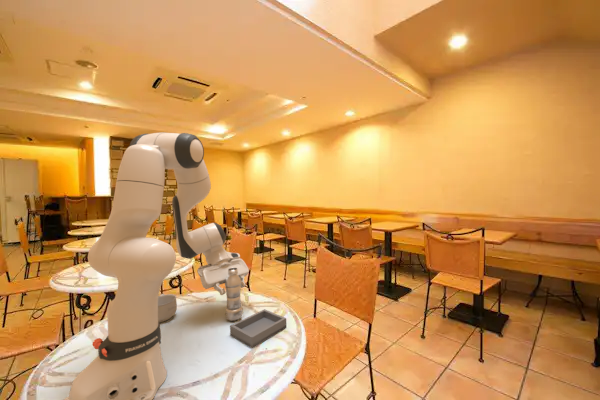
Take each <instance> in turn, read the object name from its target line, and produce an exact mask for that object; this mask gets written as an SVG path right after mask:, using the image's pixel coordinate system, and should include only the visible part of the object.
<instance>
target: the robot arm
mask: <svg viewBox="0 0 600 400" xmlns="http://www.w3.org/2000/svg"><path fill="white" fill-rule="evenodd" d="M204 155H205V148H204V146H203V142H202V141H201V140H200V139H199V138H198V137H197V136H196V135H195V134H193V133H187V132H181V133H177V132H164V131H163V132H153V133H142V134H139V135H137V136H135V137H133V139H132V140H131V141H130V143H129V146H128V147H127V148H126V149H125V151H124V153H123V155H122V157H121V161H120V164H119V167H118V171H117V175H116V176H117V177H116V182H115V187H114V188H115V189H114V194H113V200H112V205H111V206H112V207H111V211H110V214H109V217H108V220H107V222H106V224H105V227H104V229H103V231H102V233H101V235H100V236H99V238H98V240H97V241H95V242H94V244H93V245H91V247H90V248H89V251H88V252H87V261H88V264H89V266H90V268H92V269H93V270H95V271H96V272H98V273H99V274H100V275H103V276H104V277H110V278H116V279H117V282H118V283H117V284H118V285H117V289H116V293H115V296H114V298H113V299H112V300H111V301H110V302H109V304H108V305H107V308H106V314H107V316H106V317H107V336H106V338H105V339H104V340H103V339H102V338H100V337H99V338H95V339H94V340H93V341H92V344H91V345H92V346H93V348H94V349H95V350H98V354H97V356H96V357H95V358H94V359H93V360H92V361H91V362H90V363H89V364H88V365H87V366H86V367H85V368H84V369H83V370H82V371H81V372H79V374H77V375H76V377H75V378H74V379H73V381H72V383H71V386H70V390H69V394H68V395H69V396H66V397H64V398H63V399H62V400H154V398H155V397H154V396H156V395H157V391H158V389H159V388H160V387H162V384H163V383H164V382H165V380H166V379H167V376H168V371H167V368H166V366H165V363H164V360H163V357H162V351H161V344H162V341H161V340H162V329H161V323H160V322H158V296H160V295H159V294H160V289H161V286H162V284H163V281H164V280H165V279H166V278H167V277H168V276H170V274H171V273H172V271H173V270H174V267H175V265H176V259H177V255H176V252H175V249H174V248H173V246H172V245H171V244H170V243H167V242H165V241H163V240H160V239H158V238H155V237H147V235H148V232H149V229H150V228H151V226H152V224H153V223H154V222H155V221H156V220H157V219H158V218H159V217H160V215H161V214H162V209H163V208H162V207H163V200H164V199H163V198H164V191H165V180H166V177H165V176H166V171H165V170H173V174H174V177H175V181H176V183H177V190H176V193H175V195H174V196H173V198H172V201H171V207H172V216H173V223H174V224H173V225H174V230H175V247H176V251H177V252H178V254H179V255H180V257H181V258H184V259H187V260H188V259H189V260H191V259H193V258H195V257H197V256H199V255H200V254H203V255H204V257H205V261H206V265H205V264H204V265H201V266H199V267H198V268H197V269H196V271H197V274H198V276H199V279H200V282H201V285H202V287H203V288H204V289H205V290H207V289H211V288H214V290H216V291H217V292H218V293H219V294H220V296H223V295H225V294H226V288H224V287H223V288H222V287H221V285H223V284H224V285H225V281H226V279H227V277H228V276H229V275H228V269H230V268H237V271H238V274H237V275H238V276H239V278H240V279H241V289H243V288H245V287H246V283H245V277H247V275H248V274H249V271H250V268H249V267H248V265H247V264H246V262H245V260H243V258H241V255H240V253H238V252H229V251H227V250H226V249H225V248H224V246H223V245H224V244H225V242H226V239H227V234H226V232H225V231H224V229H223V227H222V225H220V224H219V223H216V222H211V223H208V224H205V225H202V226H200V227H198V228H196V229H194V230H191V231H189V229H188V221H187V217H188V214H189V212H191V210H193V209H194V207H196V206H197V205H198V204H199V203H201V202H202V201H204V200H205V199H206V198H207V196H209V194H210V191H211V189H212V186H211V185H212V184H211V179H210V178H211V177H210V174H209V170H208V168H207V165H206V162H205V160H204Z"/></svg>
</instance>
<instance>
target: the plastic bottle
mask: <svg viewBox="0 0 600 400" xmlns="http://www.w3.org/2000/svg"><path fill="white" fill-rule="evenodd" d="M237 274H238V271H237V268H230V269H228V275H229V276H228V277H227V279H226V281H225V283H224V287H225V288H224V289H225V291H226V293H225V294H226V309H225V316H226V319H227V320H228V321H230V322H234V321H238V320H241V318H242V316H243V306H242V302H241V290H242V288H241V279H240V278H239V276H238V275H237Z"/></svg>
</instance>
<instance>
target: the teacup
mask: <svg viewBox="0 0 600 400" xmlns="http://www.w3.org/2000/svg"><path fill="white" fill-rule="evenodd" d="M177 304H178V303H177V295H175V294H173V293H169V294H164V293H161V294H160V295H158V323H162V322H166V321H168V320H170V319H171V318H173V316H174V315H175V314H176V312H177V306H178V305H177Z"/></svg>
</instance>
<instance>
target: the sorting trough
mask: <svg viewBox="0 0 600 400" xmlns="http://www.w3.org/2000/svg"><path fill="white" fill-rule="evenodd" d="M286 328H287V318H286V317H284V316H282V315H279V314H277V313H275V312H272V311H270V310H267V309H262V310H260V311H258V312H255V313H254V314H252V315H249V316H248V317H246V318H243V319H240V320H239V321H237V322H235V323H233V324H230V325H229V330H230V331H229V334H230V336H231V337H232V338H234V339H236V340H237V341H239V342H240V343H242V344H244V345H246V346H247V347H249V348H250V349H254V348H255V347H257V346H259V345H260V344H261V343H263V342H265V341H267V340H268V339H270V338H271V337H273V336H275V335H276V334H279V333H280V332H282V331H283V330H286Z"/></svg>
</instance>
